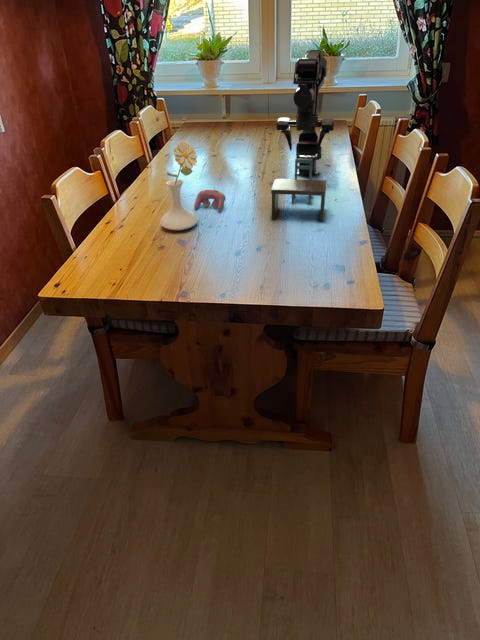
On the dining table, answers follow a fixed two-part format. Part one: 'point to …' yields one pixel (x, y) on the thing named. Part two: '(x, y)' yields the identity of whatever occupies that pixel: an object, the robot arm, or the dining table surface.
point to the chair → (303, 168)
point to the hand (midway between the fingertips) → (304, 150)
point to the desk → (298, 191)
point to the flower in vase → (178, 214)
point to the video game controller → (210, 194)
